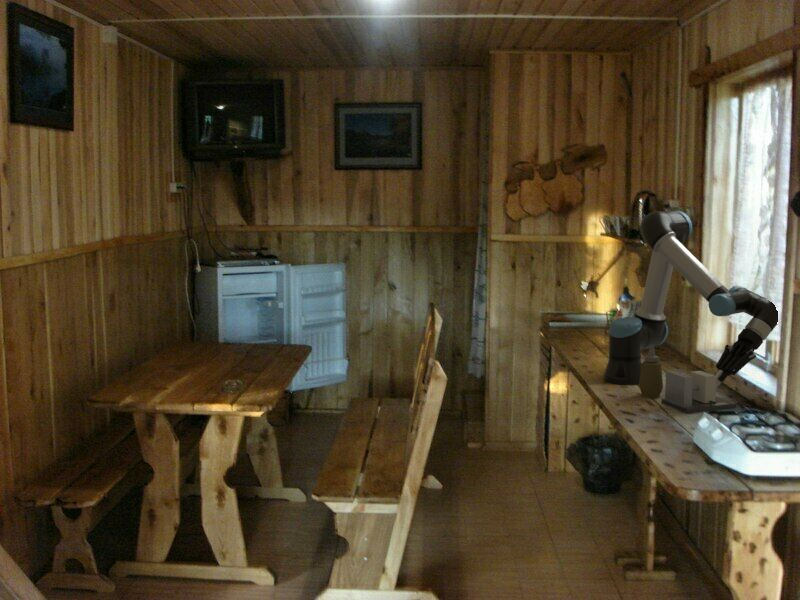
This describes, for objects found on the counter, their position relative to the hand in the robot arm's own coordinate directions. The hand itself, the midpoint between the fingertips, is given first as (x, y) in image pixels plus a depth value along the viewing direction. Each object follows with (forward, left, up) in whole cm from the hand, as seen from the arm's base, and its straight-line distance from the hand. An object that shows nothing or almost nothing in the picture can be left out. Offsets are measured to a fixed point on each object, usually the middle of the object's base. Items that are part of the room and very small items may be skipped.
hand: (711, 387), depth 274 cm
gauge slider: (+1, -5, -4) cm, 6 cm away
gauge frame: (0, -5, -6) cm, 8 cm away
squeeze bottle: (-16, -12, -6) cm, 21 cm away
